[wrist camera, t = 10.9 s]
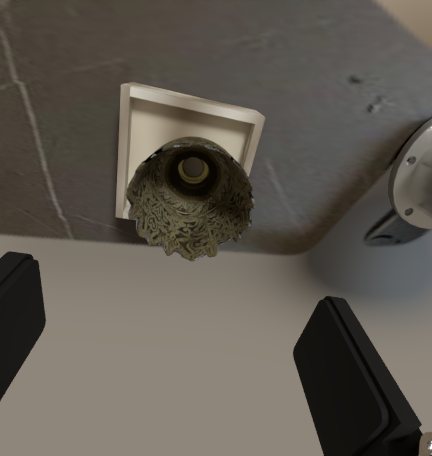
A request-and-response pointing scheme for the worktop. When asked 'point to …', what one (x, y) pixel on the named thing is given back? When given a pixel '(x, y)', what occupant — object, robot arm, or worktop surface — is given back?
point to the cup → (190, 199)
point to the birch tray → (178, 130)
